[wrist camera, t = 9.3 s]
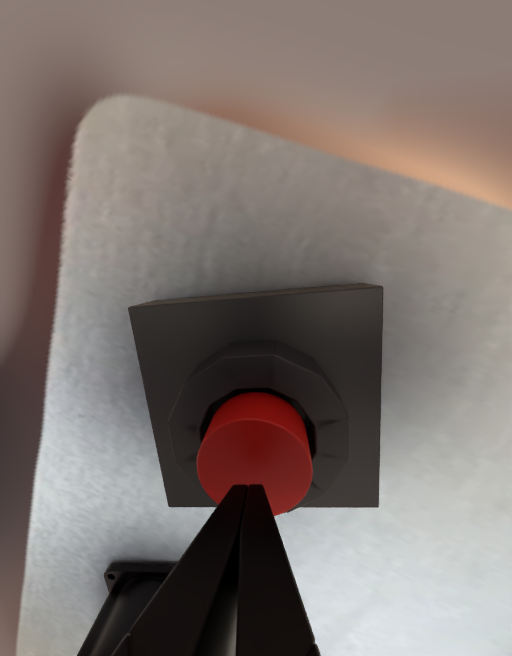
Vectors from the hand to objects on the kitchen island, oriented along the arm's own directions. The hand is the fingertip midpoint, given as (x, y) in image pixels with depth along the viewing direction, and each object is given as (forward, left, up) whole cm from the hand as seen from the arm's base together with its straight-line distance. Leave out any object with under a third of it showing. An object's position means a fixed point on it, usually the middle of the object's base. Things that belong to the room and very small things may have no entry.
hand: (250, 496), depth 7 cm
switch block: (0, 0, -6) cm, 6 cm away
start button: (0, 0, -3) cm, 3 cm away
